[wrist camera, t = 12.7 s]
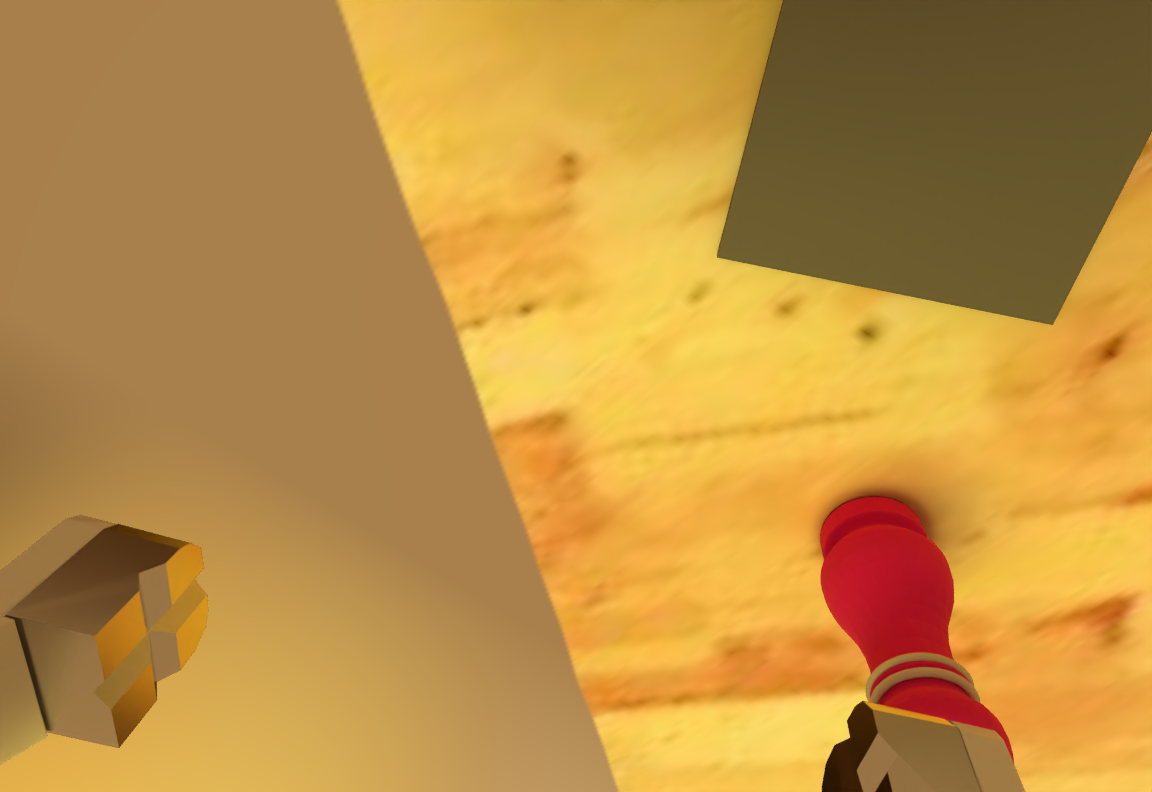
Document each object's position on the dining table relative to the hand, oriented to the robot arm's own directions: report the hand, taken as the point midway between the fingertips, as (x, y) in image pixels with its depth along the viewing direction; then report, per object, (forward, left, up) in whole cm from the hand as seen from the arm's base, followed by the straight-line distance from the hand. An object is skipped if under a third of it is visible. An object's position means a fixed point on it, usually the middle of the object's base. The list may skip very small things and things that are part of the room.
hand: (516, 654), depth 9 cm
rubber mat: (-13, -4, -34) cm, 37 cm away
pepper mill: (-18, +21, -34) cm, 44 cm away
